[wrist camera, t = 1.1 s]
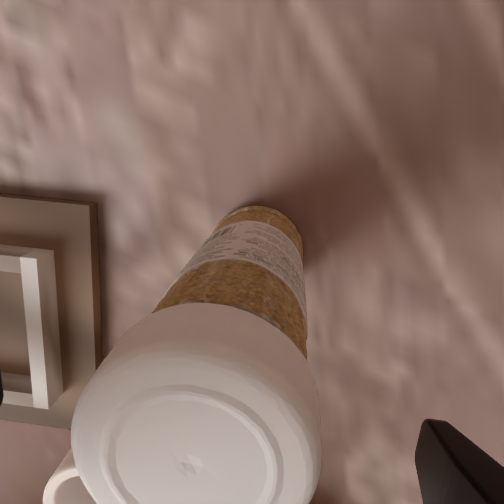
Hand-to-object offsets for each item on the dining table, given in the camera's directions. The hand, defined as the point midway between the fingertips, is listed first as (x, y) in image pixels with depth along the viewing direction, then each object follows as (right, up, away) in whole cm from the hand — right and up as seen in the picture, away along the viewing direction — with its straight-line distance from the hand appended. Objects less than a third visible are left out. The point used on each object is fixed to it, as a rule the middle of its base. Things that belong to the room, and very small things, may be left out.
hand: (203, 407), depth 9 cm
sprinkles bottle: (+1, +3, +11) cm, 12 cm away
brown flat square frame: (-13, 0, +14) cm, 19 cm away
